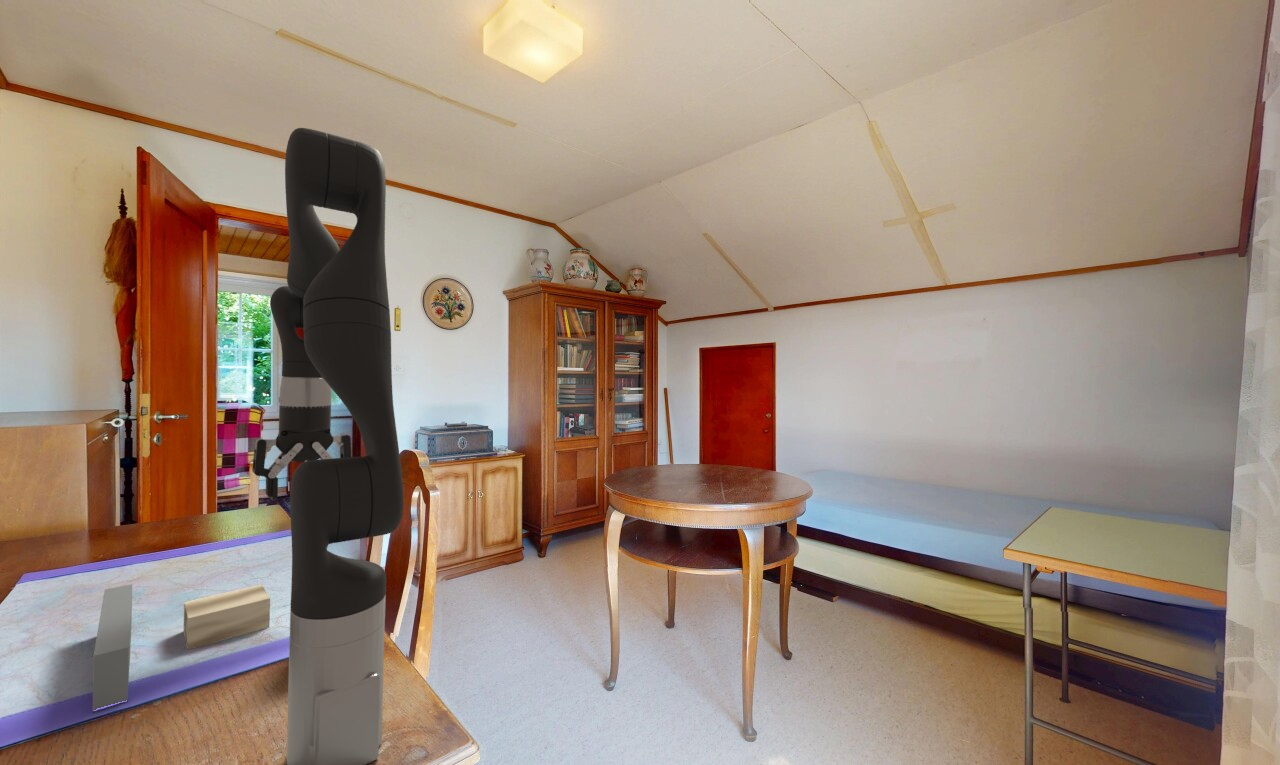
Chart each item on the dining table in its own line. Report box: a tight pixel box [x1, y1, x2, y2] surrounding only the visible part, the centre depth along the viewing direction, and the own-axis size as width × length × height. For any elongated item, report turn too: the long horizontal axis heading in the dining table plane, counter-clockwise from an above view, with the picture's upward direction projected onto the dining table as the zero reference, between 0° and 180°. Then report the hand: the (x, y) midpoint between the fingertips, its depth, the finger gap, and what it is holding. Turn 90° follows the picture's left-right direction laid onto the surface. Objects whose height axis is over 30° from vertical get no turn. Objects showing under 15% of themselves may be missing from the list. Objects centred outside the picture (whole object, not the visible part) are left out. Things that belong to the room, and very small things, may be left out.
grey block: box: [92, 583, 133, 711], centre depth 71 cm, size 24×3×7 cm, turn 45°
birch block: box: [183, 584, 271, 651], centre depth 81 cm, size 7×10×5 cm
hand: (303, 495), depth 88 cm, fingers open, 8 cm apart
